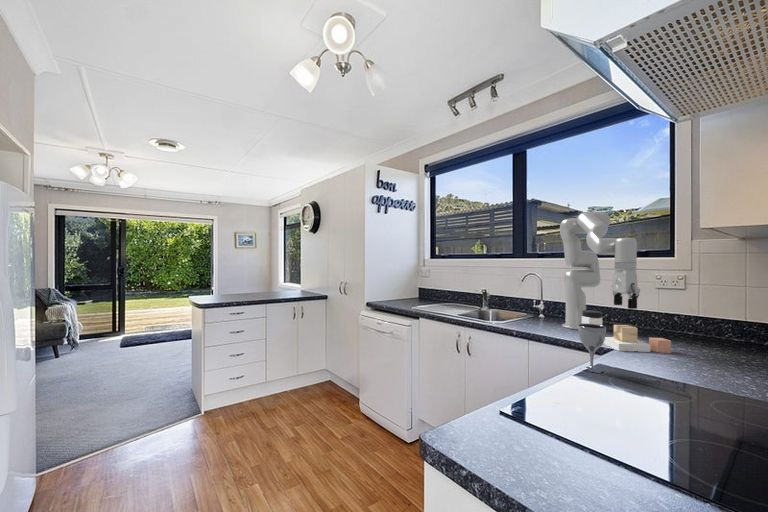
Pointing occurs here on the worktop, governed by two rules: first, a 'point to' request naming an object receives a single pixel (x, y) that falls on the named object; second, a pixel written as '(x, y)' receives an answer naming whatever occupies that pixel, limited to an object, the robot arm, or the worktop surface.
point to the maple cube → (625, 333)
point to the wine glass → (592, 338)
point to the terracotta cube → (660, 345)
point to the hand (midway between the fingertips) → (624, 306)
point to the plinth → (627, 345)
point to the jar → (591, 317)
